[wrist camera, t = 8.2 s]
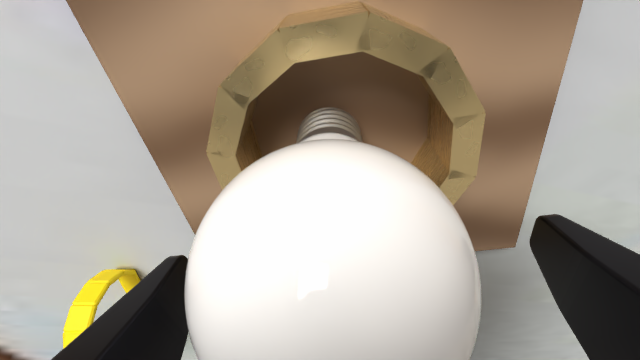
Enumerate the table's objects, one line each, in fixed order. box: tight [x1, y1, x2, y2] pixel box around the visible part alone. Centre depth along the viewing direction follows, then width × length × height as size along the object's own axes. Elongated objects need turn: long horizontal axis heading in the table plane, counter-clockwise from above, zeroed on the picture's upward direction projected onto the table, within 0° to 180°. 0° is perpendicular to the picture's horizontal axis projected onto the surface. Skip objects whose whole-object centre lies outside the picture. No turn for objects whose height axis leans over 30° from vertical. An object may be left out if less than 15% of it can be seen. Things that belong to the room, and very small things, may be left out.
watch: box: [63, 269, 140, 348], centre depth 20 cm, size 6×3×6 cm, turn 1°
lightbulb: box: [184, 107, 482, 360], centre depth 9 cm, size 6×6×11 cm
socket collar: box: [206, 1, 486, 205], centre depth 13 cm, size 10×10×3 cm
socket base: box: [66, 0, 583, 251], centre depth 14 cm, size 18×18×1 cm
